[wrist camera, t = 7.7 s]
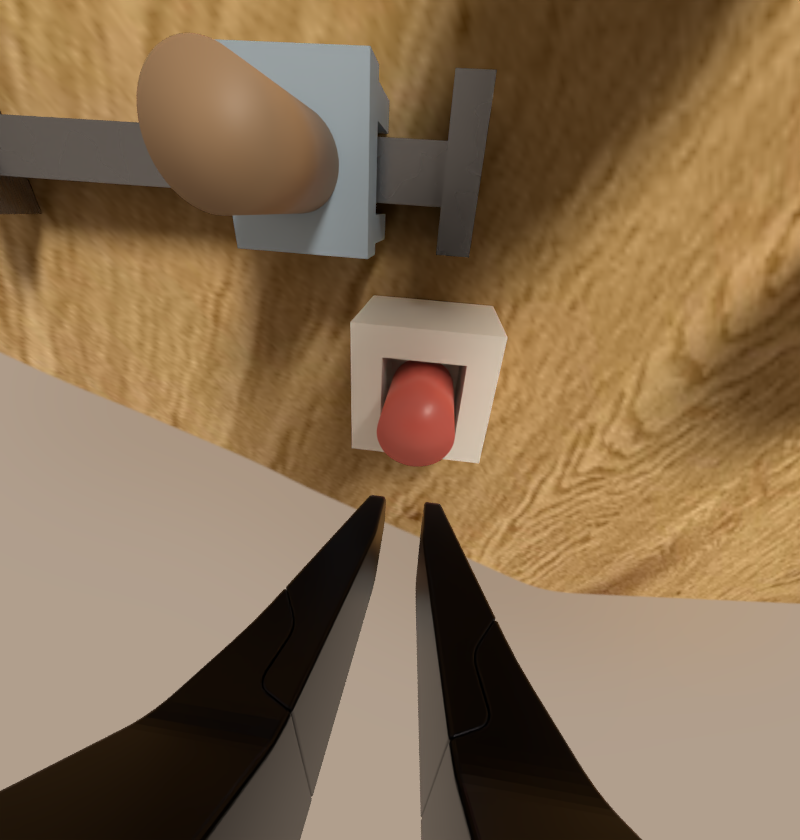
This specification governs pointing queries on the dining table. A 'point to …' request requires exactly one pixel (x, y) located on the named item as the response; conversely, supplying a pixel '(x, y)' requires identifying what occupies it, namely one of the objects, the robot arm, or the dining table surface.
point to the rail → (132, 165)
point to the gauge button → (418, 414)
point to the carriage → (270, 138)
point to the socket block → (428, 342)
